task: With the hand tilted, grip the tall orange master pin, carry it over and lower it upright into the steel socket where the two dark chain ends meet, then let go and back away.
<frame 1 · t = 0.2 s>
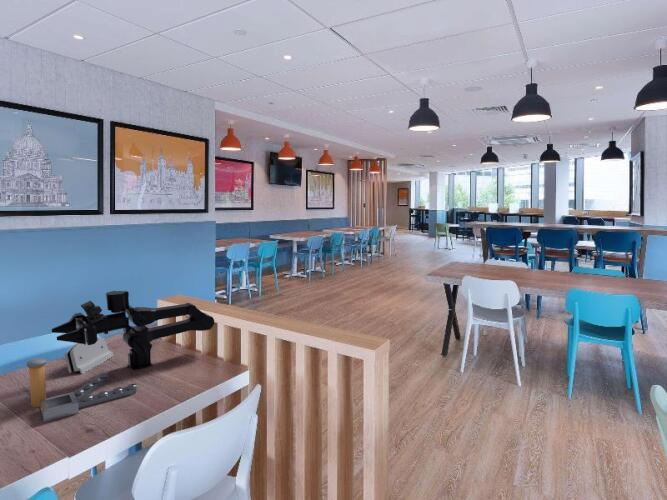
hand: (54, 334, 129), 17 cm above the table, tool horizontal, fingers open, 9 cm apart
hinge: (89, 364, 148), on the table
master pin: (39, 404, 119), on the table
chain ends: (59, 411, 115), on the table
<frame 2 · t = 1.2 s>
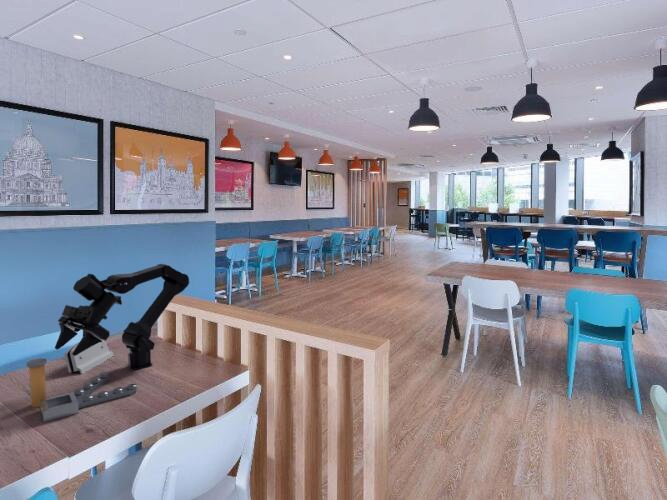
hand: (64, 352, 124), 13 cm above the table, tool tilted 45°, fingers open, 9 cm apart
nothing on the table moved.
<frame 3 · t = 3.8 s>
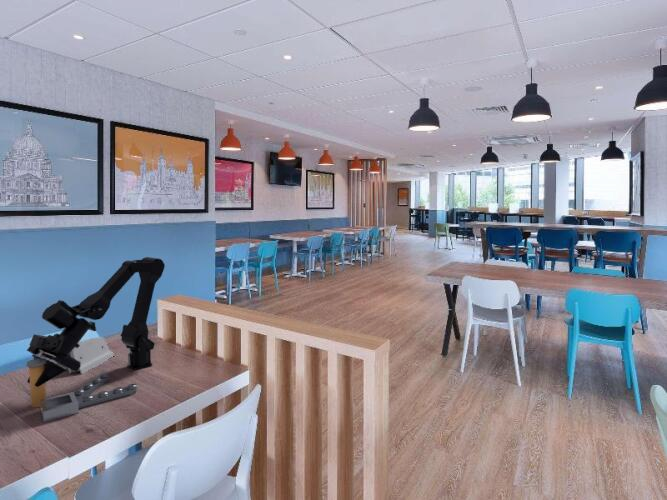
hand: (32, 384, 116), 7 cm above the table, tool tilted 45°, fingers closed on master pin, 4 cm apart
master pin: (39, 404, 119), on the table, touching gripper
everything else where it was.
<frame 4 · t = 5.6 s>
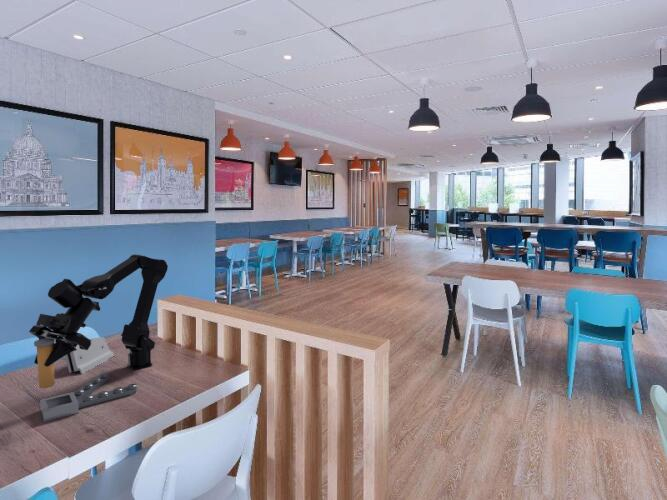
hand: (40, 364, 114), 13 cm above the table, tool tilted 45°, fingers closed on master pin, 4 cm apart
master pin: (46, 385, 116), point 7 cm above the table, touching gripper
everything else where it was.
when the fingers open (8 cm above the table, at t = 7.6 s): master pin drops 1 cm, resting in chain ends.
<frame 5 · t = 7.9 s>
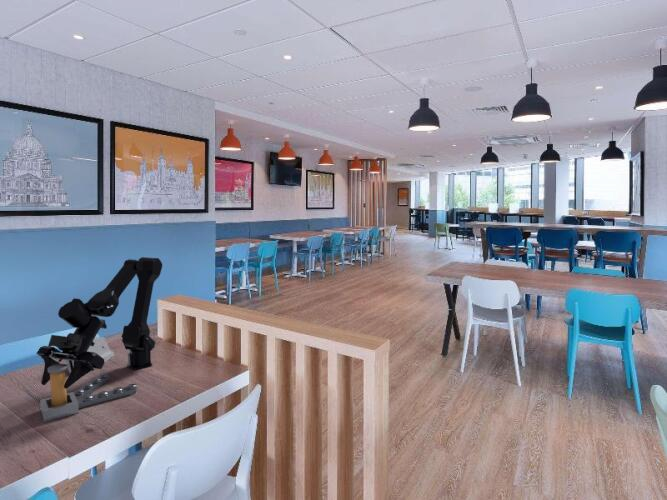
hand: (53, 386, 113), 8 cm above the table, tool tilted 45°, fingers open, 7 cm apart
master pin: (59, 411, 115), resting in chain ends
everything else where it was.
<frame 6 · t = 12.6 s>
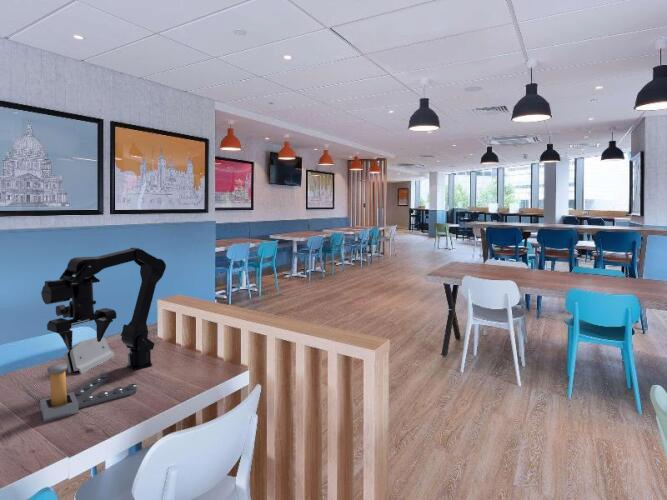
hand: (84, 345, 130), 13 cm above the table, tool pointing down, fingers open, 9 cm apart
nothing on the table moved.
at the end: master pin 0.0 cm off-centre on the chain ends, point 0.0 cm above the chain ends's base; master pin tilted 0°; the gripper is holding nothing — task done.
